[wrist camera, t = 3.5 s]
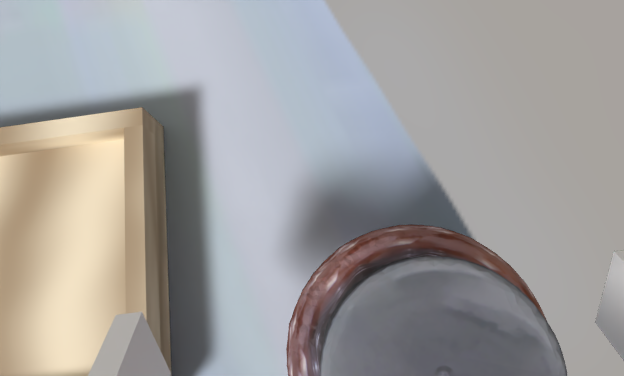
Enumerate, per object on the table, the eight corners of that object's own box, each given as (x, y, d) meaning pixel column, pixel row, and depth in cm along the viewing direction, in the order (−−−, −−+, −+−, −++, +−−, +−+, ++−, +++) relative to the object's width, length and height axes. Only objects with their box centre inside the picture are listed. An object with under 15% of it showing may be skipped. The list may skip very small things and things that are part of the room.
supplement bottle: (318, 248, 19) (275, 184, 8) (462, 256, 18) (625, 198, 8) (309, 400, 18) (242, 569, 7) (464, 414, 17) (666, 622, 6)
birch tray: (163, 126, 21) (142, 107, 19) (172, 403, 18) (148, 417, 16) (-78, 160, 22) (-125, 145, 20) (-108, 432, 19) (-166, 449, 17)
